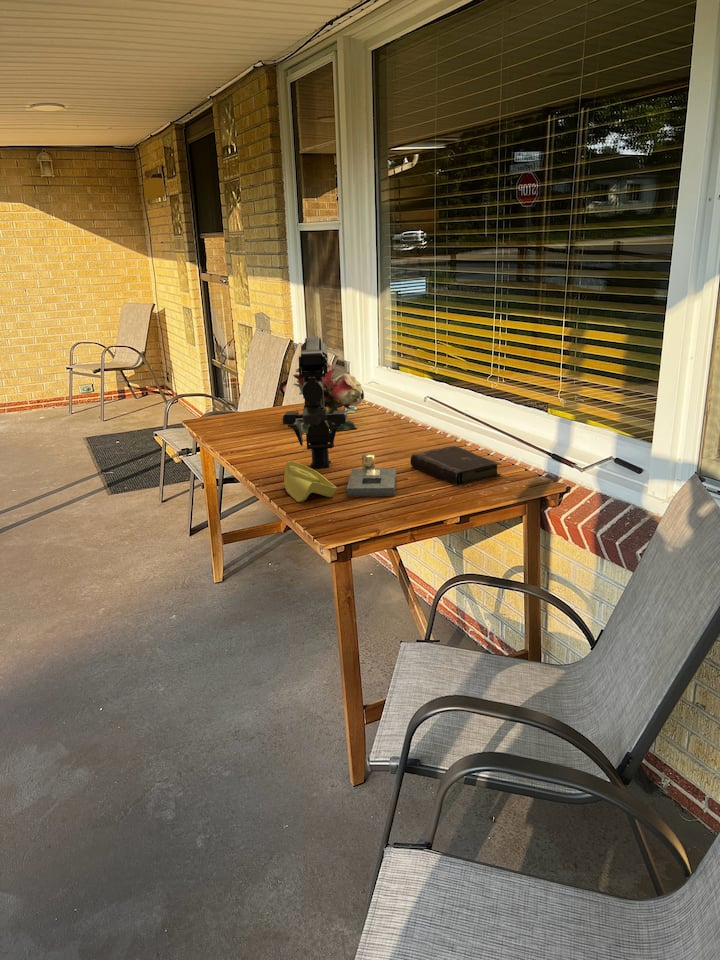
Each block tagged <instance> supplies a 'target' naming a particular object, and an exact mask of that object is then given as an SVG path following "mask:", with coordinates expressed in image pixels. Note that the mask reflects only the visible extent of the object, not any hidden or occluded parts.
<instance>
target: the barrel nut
mask: <svg viewBox="0 0 720 960" xmlns="http://www.w3.org/2000/svg"><path fill="white" fill-rule="evenodd" d="M375 460H376V459H375V454H373V453H365V454H362V455H361V467H362V468H361V469H370V468H376V467H375Z"/></svg>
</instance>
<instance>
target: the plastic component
mask: <svg viewBox="0 0 720 960" xmlns="http://www.w3.org/2000/svg"><path fill="white" fill-rule="evenodd" d="M283 477H284V478H283V483H284V488H285V490H286V492H287V494H288V495H289V496H291V498H292V499H294V501H296V502H297V503H303V502H305V501H306V500H307V499H308V497H309V496H310V494H312V493H313V494H318V495H320V496H322V497H323V496H324V497H327V498H333V497H334V495H335V492H336V490H337V486H336V485H334V484H333V483H332V482H331V481H329V480H328V479H327V478H326V477H325V476H323V474H321V473H319V471H317V470H315V468H314V469H313V467H310V466H307V465H305V464H302V463H299V462H296V461H293V460H288V461H286V464H285V467H284V474H283Z"/></svg>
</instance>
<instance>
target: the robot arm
mask: <svg viewBox="0 0 720 960" xmlns="http://www.w3.org/2000/svg"><path fill="white" fill-rule="evenodd" d="M328 359H329V356H328V345H327V344H326V343H325V342H324V341H322V337H320V336H308V337H305V338H304V342H303V343H302V345H301V346H300V355H299V356H298V368H299V372H298V375H299V378H304V379H303V382H304V385H303V389H302V393H303V395H302V396H304V398H305V399H304V398H303V399H304V405H303V410H302V411H303V412H302V414H301V413H299V411H298V410H295V411H294V410H293V411H290V410H289V411H286V412H285V413H284V414H283V415H282V425H287V427H288V428H291V429H292V431H293V432H294V434H296V438H297V440H298V443H299V445H300V446H301V447H302V446H303V443H304V442H303V441H304V440H303V435H302V431H301V423H300V421H303V422H304V424H305V425H308V424H309V426H308V432H306V435H305V437H306V438H305V439H306V450H311V463H310V465H309V467H310V468H330V467H331V466H330V465H331V464H332V461H331V460H330V457H329V456H330V455H329V454H330V453H329V449H330V450H331V449H333V448H335V438H336V433H337V432H338V431H337V429H338V427H340V426H342V424H345V423H346V422H347V419H348V413H347V412H346V411H344V410H338V411H334V412H333V414H327V411H328V410H327V407H324V391H323V378H322V377H326V373H328V368H327V361H328ZM328 362H329V361H328ZM301 368H302V374H301ZM323 371H324V373H323ZM326 420H332V422H333V423H332V425H331V427H332V431H329V425H328V423H327V422H326ZM348 420H349V419H348Z"/></svg>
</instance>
